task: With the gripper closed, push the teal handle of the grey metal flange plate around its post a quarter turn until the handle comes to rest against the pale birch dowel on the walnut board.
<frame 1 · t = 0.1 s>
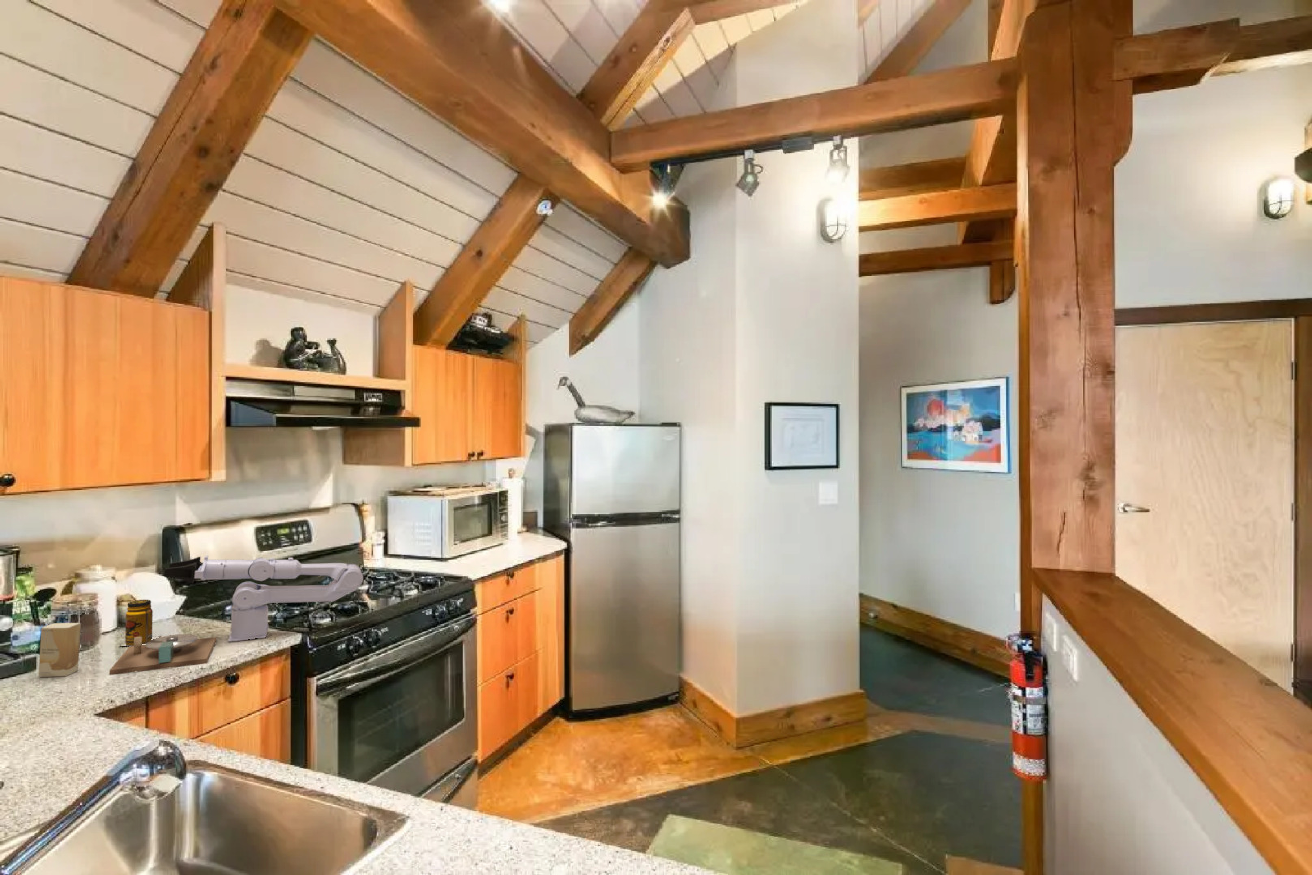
hand: (167, 569, 181), 22 cm above the worktop, tool horizontal, fingers open, 7 cm apart
condiment: (140, 642, 184), on the worktop
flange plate: (170, 645, 171), point 4 cm above the worktop, hinge at 90.0°
walnut base: (171, 656, 173), on the worktop
skincare box: (59, 674, 159), on the worktop
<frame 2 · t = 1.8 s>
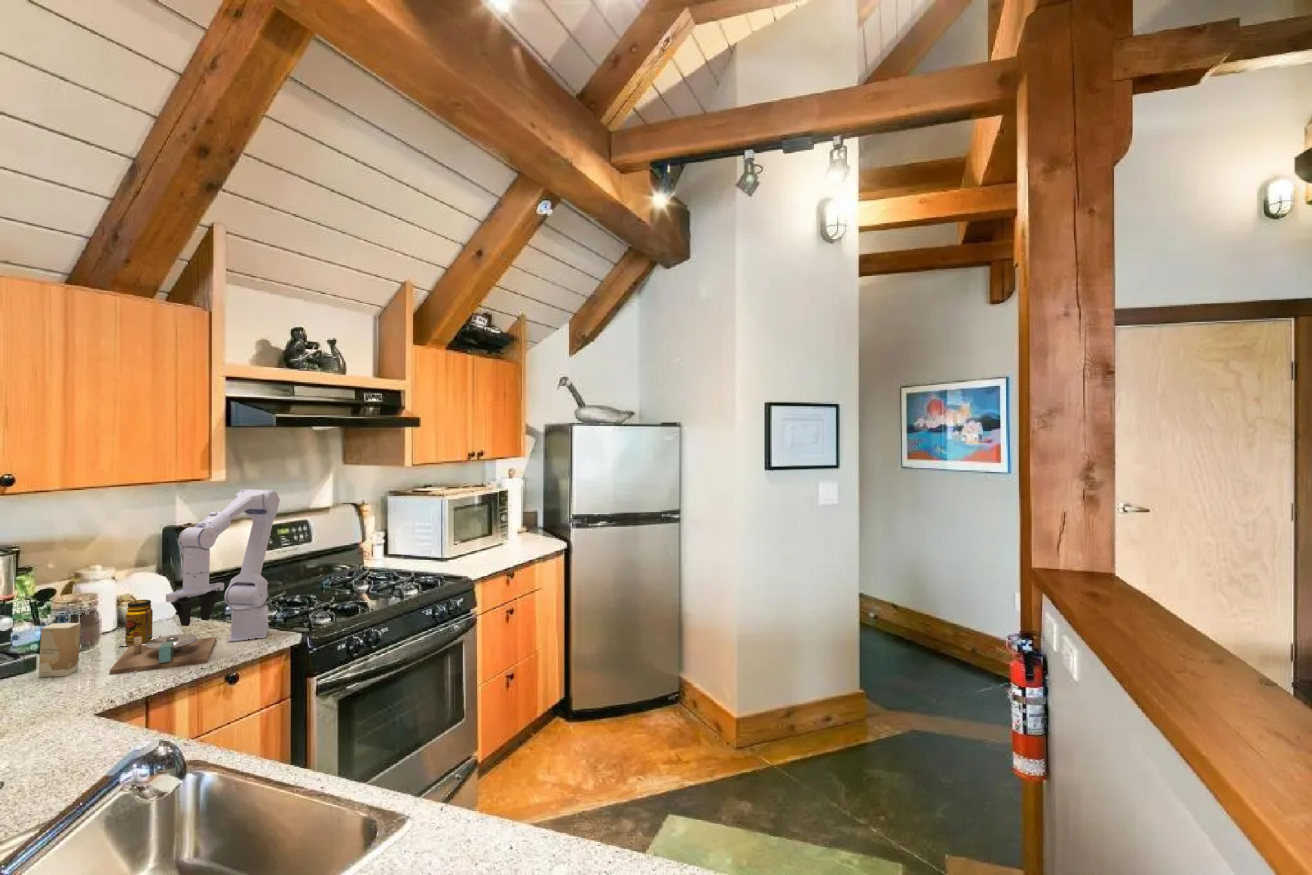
hand: (195, 622, 171), 10 cm above the worktop, tool pointing down, fingers open, 5 cm apart
nothing on the worktop moved.
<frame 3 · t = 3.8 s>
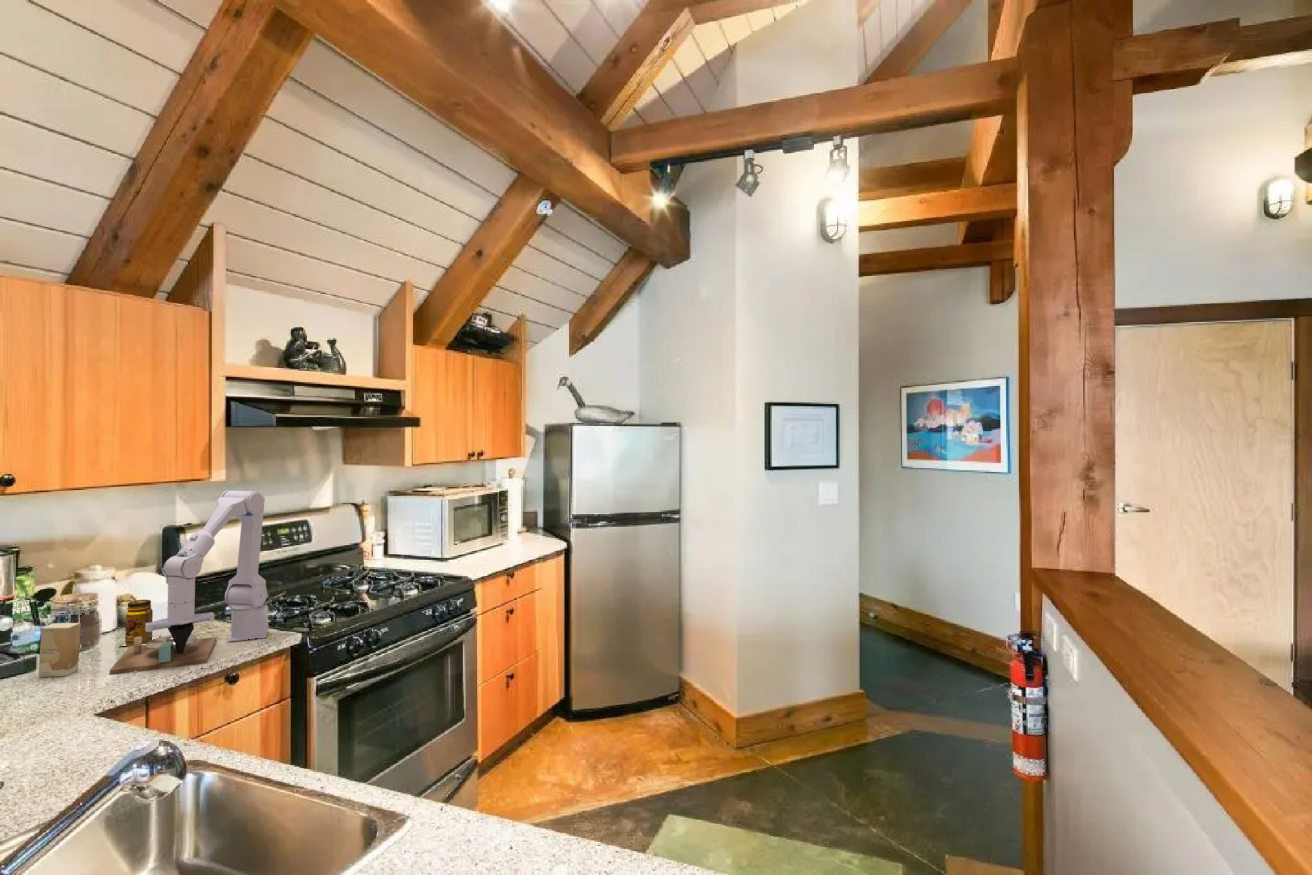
hand: (180, 653, 168), 3 cm above the worktop, tool pointing down, fingers closed
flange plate: (170, 645, 171), point 4 cm above the worktop, hinge at 90.0°, touching gripper
everything else where it was.
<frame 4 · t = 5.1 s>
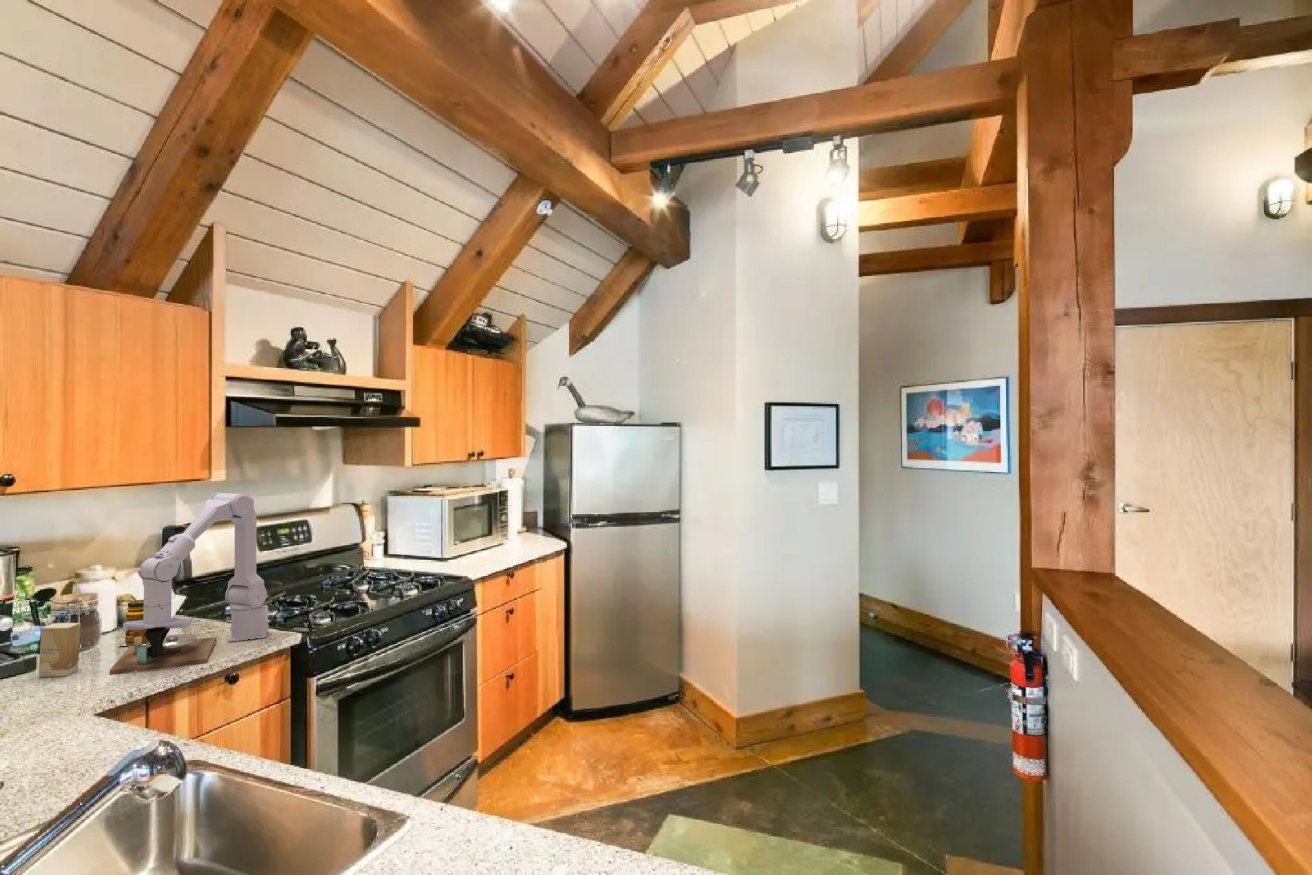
hand: (156, 656, 165), 3 cm above the worktop, tool pointing down, fingers closed, pressing on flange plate
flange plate: (165, 645, 171), point 4 cm above the worktop, hinge at 60.4°, touching gripper
everything else where it was.
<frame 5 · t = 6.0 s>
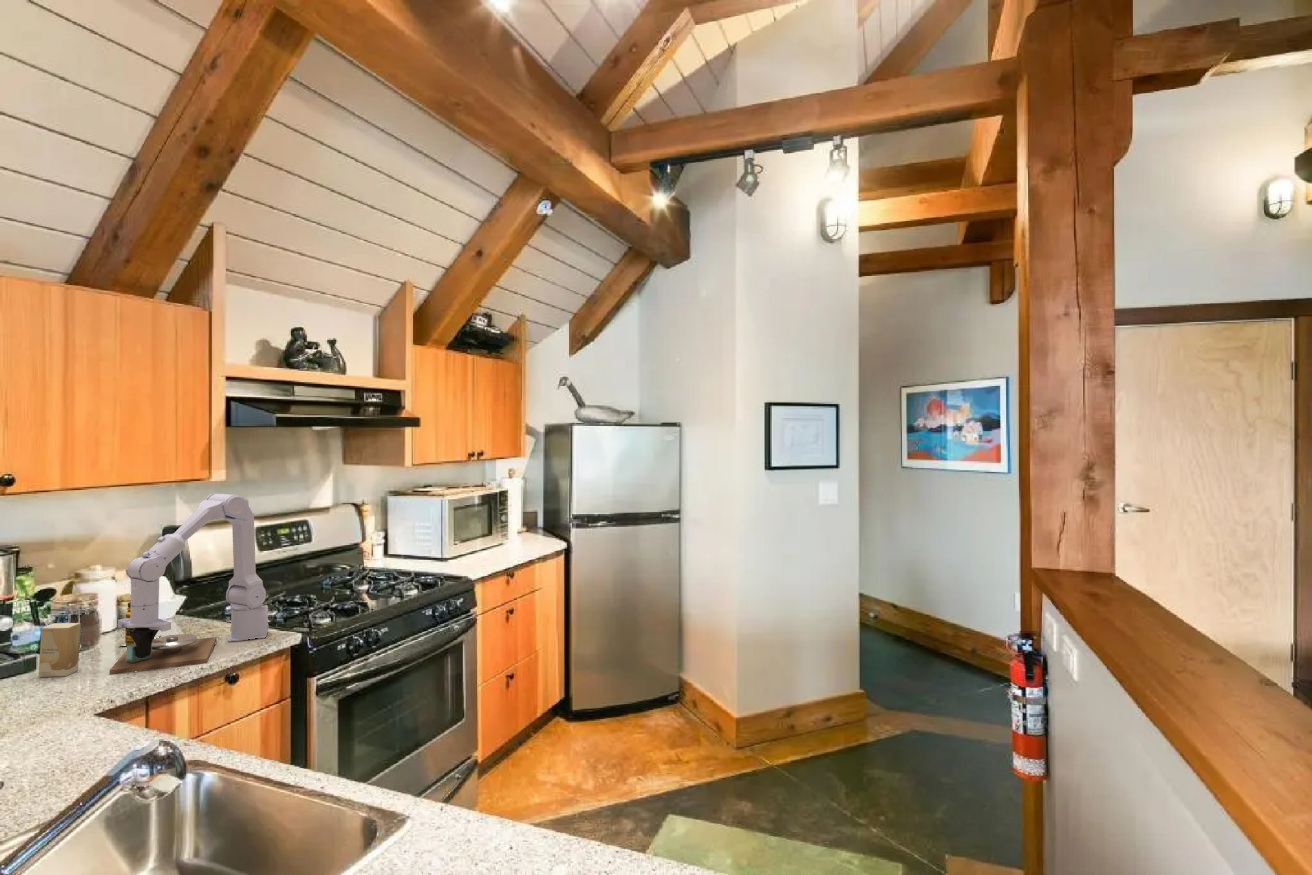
hand: (143, 656, 165), 3 cm above the worktop, tool pointing down, fingers closed, pressing on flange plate
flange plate: (162, 645, 171), point 4 cm above the worktop, hinge at 37.2°, touching gripper
everything else where it was.
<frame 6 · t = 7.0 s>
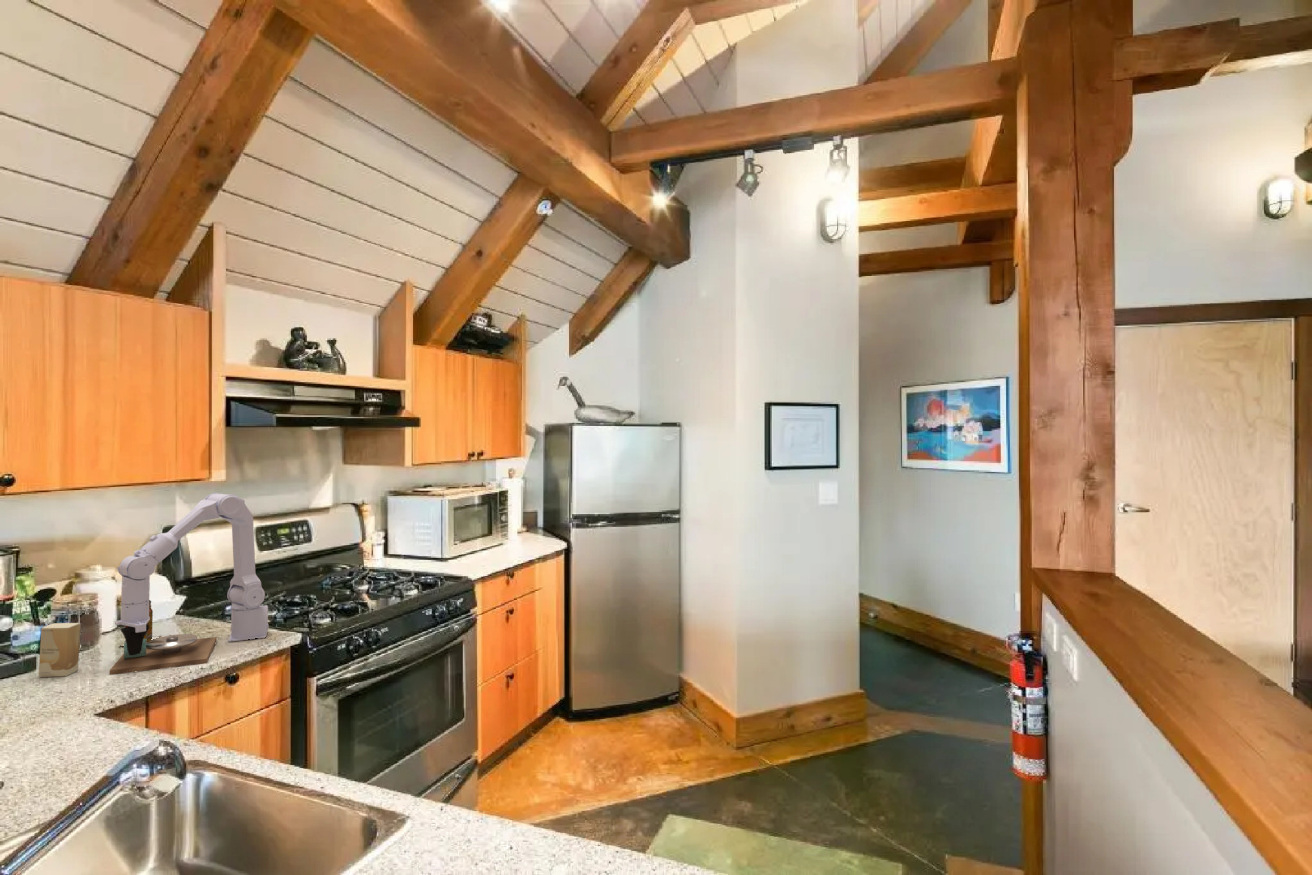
hand: (134, 653, 167), 3 cm above the worktop, tool pointing down, fingers closed, pressing on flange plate
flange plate: (161, 644, 172), point 4 cm above the worktop, hinge at 7.6°, touching gripper
everything else where it was.
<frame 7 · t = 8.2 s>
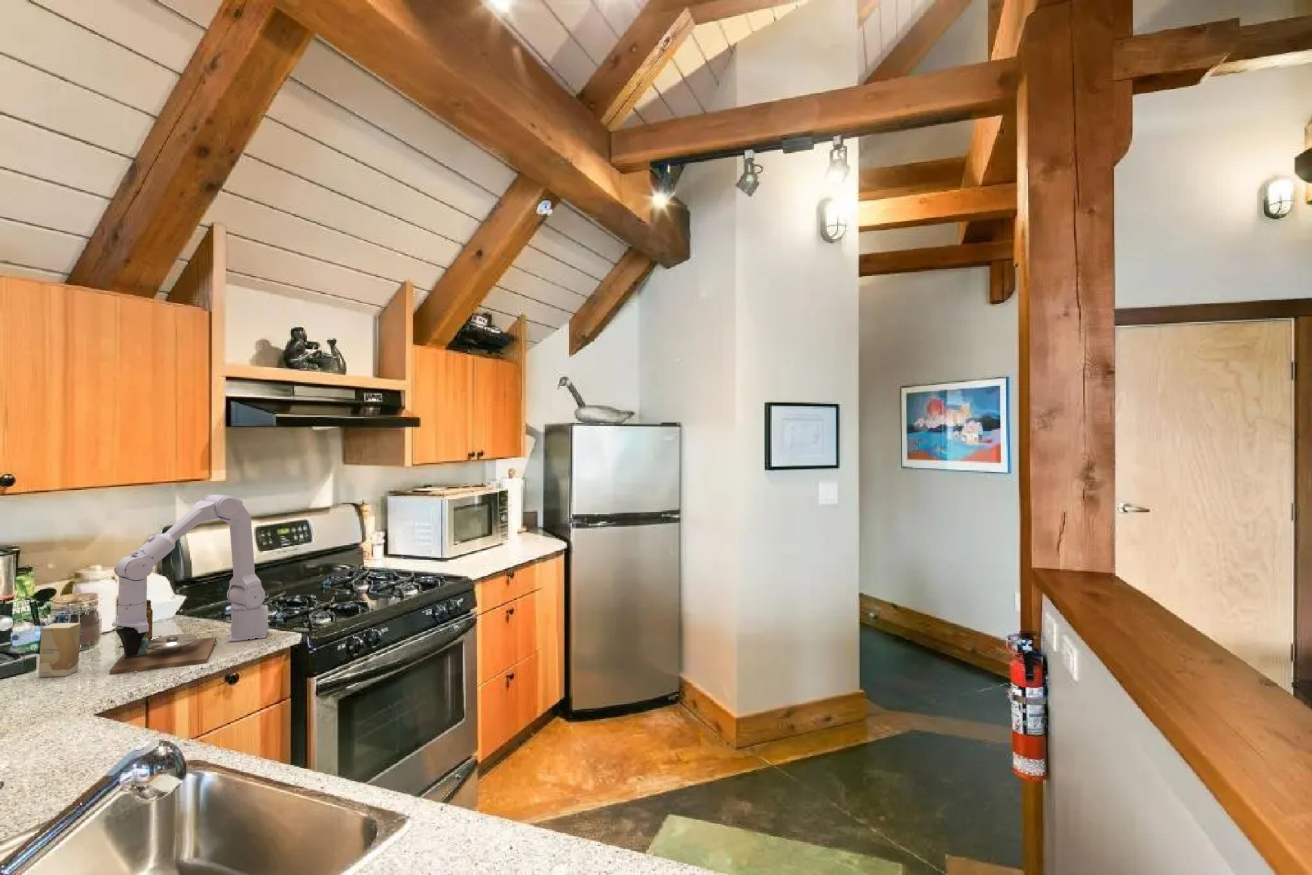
hand: (131, 655, 165), 3 cm above the worktop, tool pointing down, fingers closed
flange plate: (161, 644, 172), point 4 cm above the worktop, hinge at 0.1°, touching walnut base
everything else where it was.
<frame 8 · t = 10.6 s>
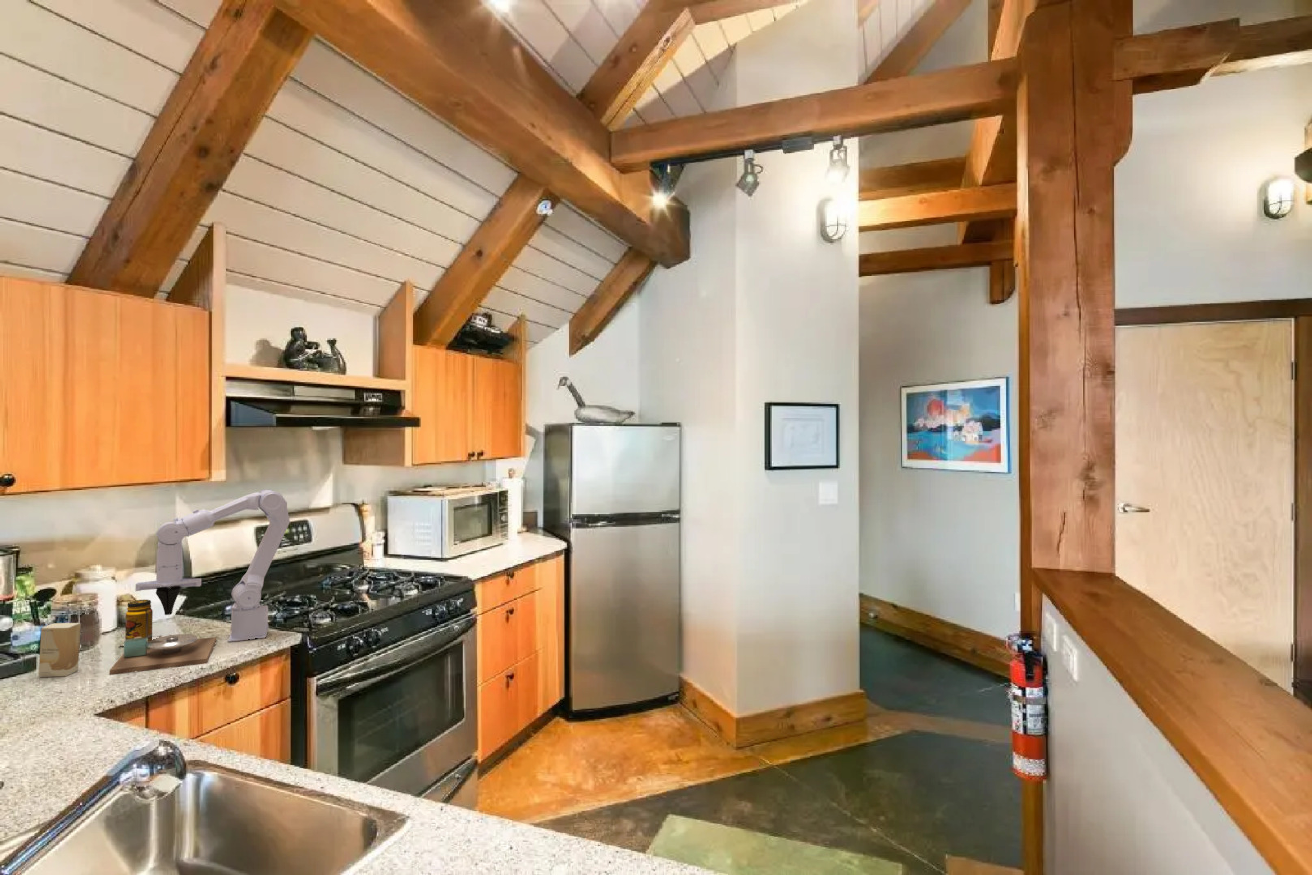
hand: (168, 613, 178), 10 cm above the worktop, tool pointing down, fingers closed
nothing on the worktop moved.
at the end: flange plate at +0° (first picture: +90°) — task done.
